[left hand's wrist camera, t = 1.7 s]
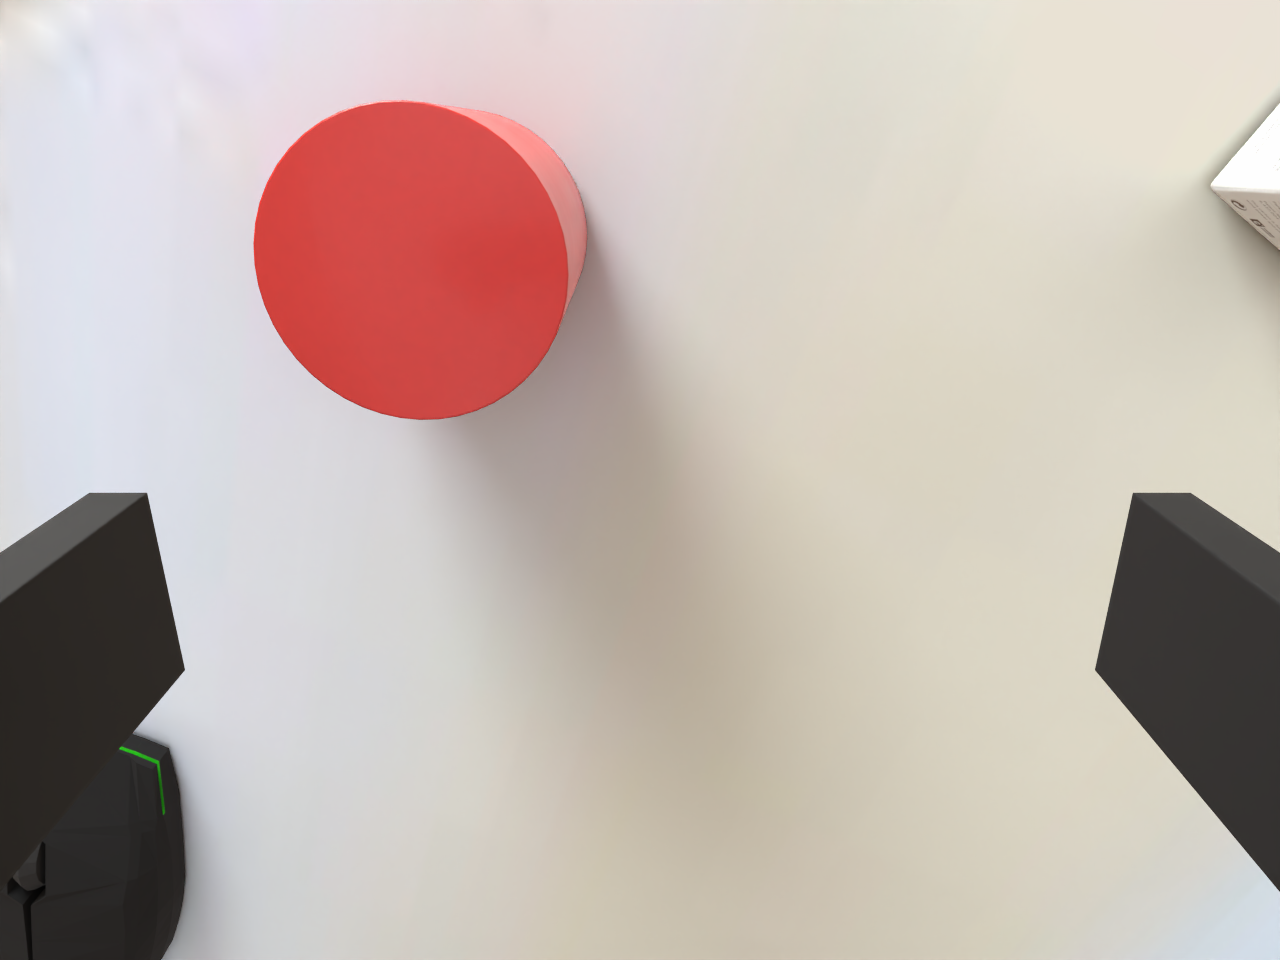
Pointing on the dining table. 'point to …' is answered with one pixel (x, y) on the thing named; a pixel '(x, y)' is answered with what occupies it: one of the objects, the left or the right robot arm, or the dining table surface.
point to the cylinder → (419, 255)
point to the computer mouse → (104, 869)
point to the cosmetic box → (1256, 180)
